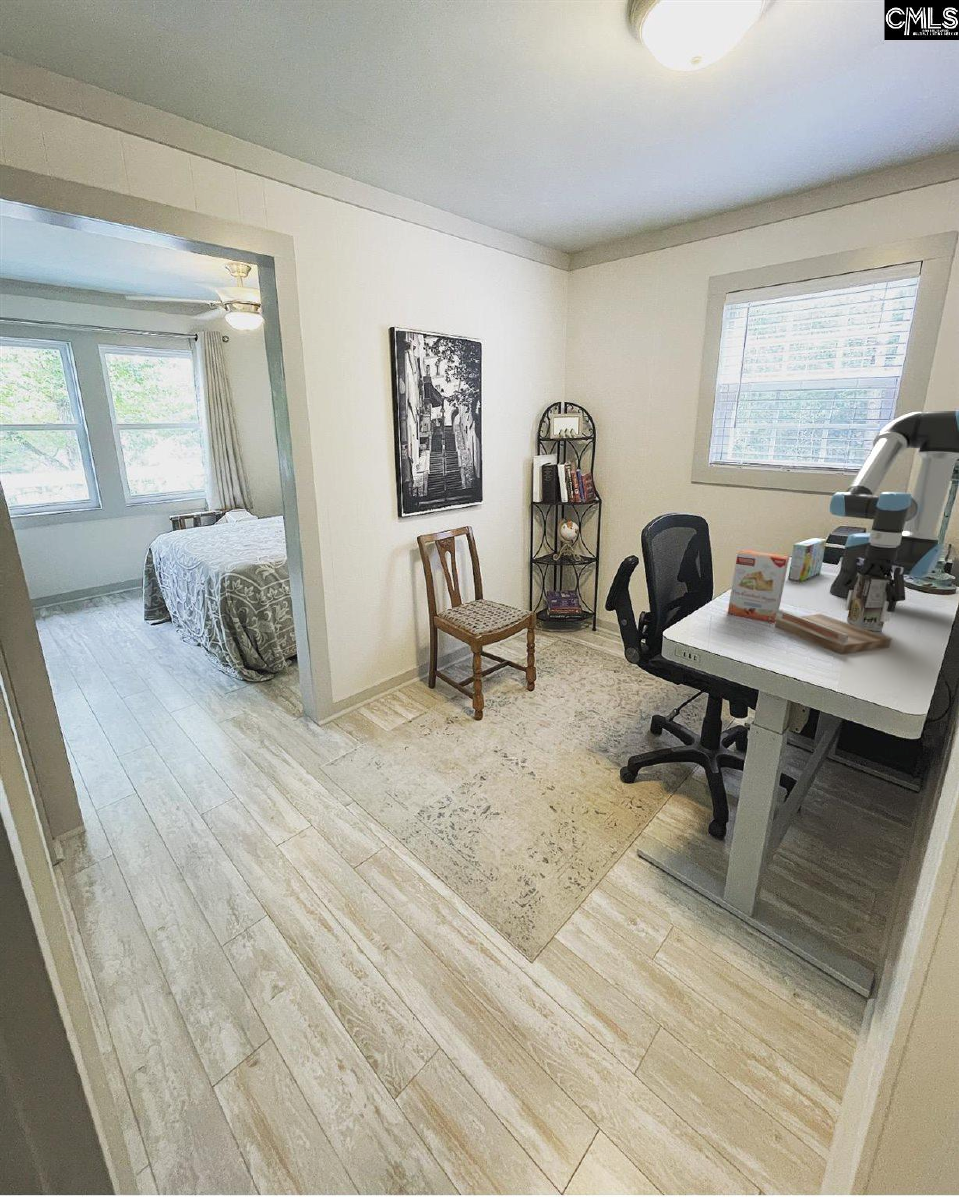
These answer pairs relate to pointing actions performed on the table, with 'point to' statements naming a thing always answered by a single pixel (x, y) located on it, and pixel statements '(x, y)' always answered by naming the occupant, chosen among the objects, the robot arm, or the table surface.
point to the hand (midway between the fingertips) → (866, 615)
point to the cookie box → (868, 602)
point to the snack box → (807, 559)
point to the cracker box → (758, 585)
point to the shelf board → (830, 633)
